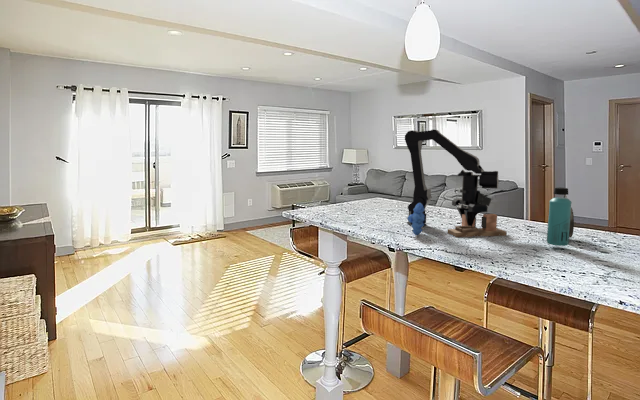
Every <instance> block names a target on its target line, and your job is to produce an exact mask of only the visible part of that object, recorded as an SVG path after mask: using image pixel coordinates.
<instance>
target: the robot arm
mask: <svg viewBox="0 0 640 400" xmlns="http://www.w3.org/2000/svg"><path fill="white" fill-rule="evenodd" d="M404 140H405V143H406V144H405V145H406V148H407V149H408V151H409V153H410V160H411V169H412V176H413V181H414V182H413V183H414V190H413V194H412V197H413V198H412V202H410V203H409V205H407V210H408V216H409V215H411V214H413V213H414V211H413V209H414V208H415V206H416V205H417V204H418V203H421V204H422V205H423V207H424V209H425V210H424V211H423V212H422V213H423V214H424V215H425V217H424V219H425V220H424V221H423V223H424V226H427V213H426V208H427V207H428V205H430V203H431V201H432V198H433V196H432V193H431V192H432V189H431V188H428V187H427V186H426V179H425V173H424V165H423V164H424V163H423V157H422V148H423V142H424V141H430V140H431V141H434V142H435V143H437V145H438V146H440V147H442V148H443V149H444V150H445V151H446V152H448V153H449V154H450V155H452V156H453V157H454V158H455V159H456V161H457V162H458V164H460V166H461V167H462V168H463V169H461V171H460V172H459V173H458V174H457V176H458V177H462V184H461V186H462V187H461V189H459V192H460V193H461V198H453V200H452V201H451V206H453V207H456V209H457V211H458V214H459V216H460V218H461V219H462V214H465V216H466V220H467V224H468V226H472V224H473V222H474V219H475V217H476V218H477V215H478V214H480V213H487V212H488V209H489V207H490V205H491V202H492V198H490V197H489V196H486V195H485V194H484V193H482V192H481V191H480V190H478V187H479V186H480V187H481V189H490V190H491V189H493V190H495V189H496V190H498V189H499V184H500V183H499V181H500V179H499V171H498V170H493V171H492V170H491V171H485V170H484V168H483V167H482V166H481V164H480V163H481V162H480V159H479V158H478V157H477V156H476V155H474V154H472V153H470V152H468V151H466V150H463V149H462V148H460V146H458V145H456V143H454V142H453V141H451V140H450V139H449V138H447V137H446V136H445V135H443V134H442V133H441V132H440V131H439V130H438V129H430V130H424V131H418V130H408V131H407V132H406V133H405V134H404ZM465 170H466V171H465ZM406 224H408V225H409V226H411V225H412V224H413V223H410V222H409V221H408V220H407V222H406ZM424 226H423V227H424Z"/></svg>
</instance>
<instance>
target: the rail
mask: <svg viewBox="0 0 640 400" xmlns="http://www.w3.org/2000/svg"><path fill="white" fill-rule="evenodd" d="M497 223H498V215H497V214H494V213H482V216H481V225H480V226H481V227H479V228H478V227H477V226H476V227H474V226H462V225H455V226H454V228H447V234H448V233H449V235H450V234H451V236H452V235H453V237H454V236H455V238H464V237H465V238H467V237H469V238H471V237H472V238H473V236H474V237H500V236H502V237H505V236H507V233H508V232H507V230H503V229H500V228H497Z"/></svg>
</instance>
